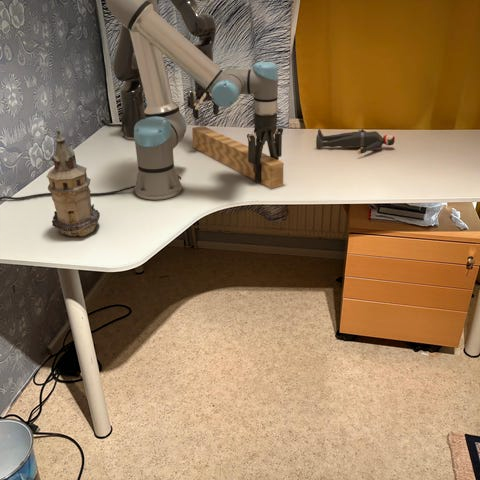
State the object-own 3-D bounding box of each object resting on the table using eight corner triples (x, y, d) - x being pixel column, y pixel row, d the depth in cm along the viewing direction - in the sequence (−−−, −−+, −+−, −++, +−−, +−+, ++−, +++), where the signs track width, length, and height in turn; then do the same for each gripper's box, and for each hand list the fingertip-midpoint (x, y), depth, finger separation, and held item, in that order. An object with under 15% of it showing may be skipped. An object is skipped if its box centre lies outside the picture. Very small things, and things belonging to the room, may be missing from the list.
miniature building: (80, 214, 164) (63, 117, 149) (111, 225, 157) (96, 125, 142) (44, 231, 154) (22, 130, 140) (75, 244, 147) (55, 139, 133)
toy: (319, 122, 224) (394, 122, 218) (319, 137, 227) (392, 137, 221) (314, 142, 202) (397, 143, 196) (314, 158, 205) (395, 159, 199)
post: (282, 185, 181) (283, 162, 177) (271, 188, 179) (271, 166, 175) (203, 145, 217) (202, 125, 213) (193, 147, 215) (192, 127, 211)
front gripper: (280, 105, 180) (278, 170, 192) (235, 114, 171) (237, 182, 183) (294, 110, 175) (292, 176, 186) (249, 120, 166) (250, 189, 177)
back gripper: (214, 68, 203) (216, 111, 211) (182, 74, 196) (185, 117, 204) (225, 72, 197) (227, 115, 205) (192, 77, 190) (195, 122, 198)
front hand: (264, 179), depth 184 cm, fingers closed on post, 5 cm apart
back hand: (206, 116), depth 204 cm, fingers open, 8 cm apart
